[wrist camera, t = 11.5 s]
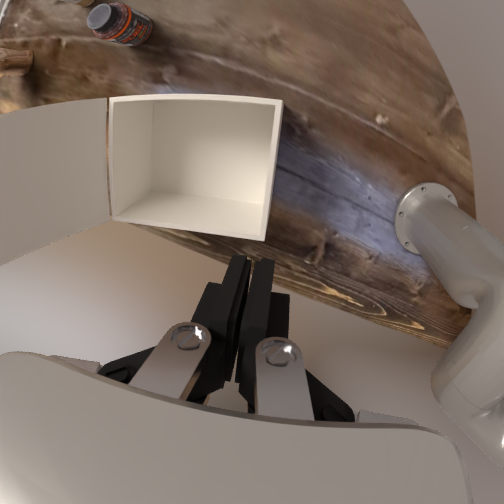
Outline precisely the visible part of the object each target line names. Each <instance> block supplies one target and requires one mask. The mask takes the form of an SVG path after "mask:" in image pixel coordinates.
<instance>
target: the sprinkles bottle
mask: <svg viewBox="0 0 504 504" xmlns="http://www.w3.org/2000/svg"><path fill="white" fill-rule="evenodd" d="M61 1H65V2H69V3H73V4H77V5H80V6H82V7H86V6H89V5H91V4H92V3H93V2H94V1H95V0H61Z"/></svg>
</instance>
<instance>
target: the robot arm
mask: <svg viewBox="0 0 504 504" xmlns="http://www.w3.org/2000/svg"><path fill="white" fill-rule="evenodd" d="M422 187H423V188H422ZM421 188H422V189H421ZM400 212H401V213H400ZM399 213H400V214H399ZM394 229H395V233H396V236H397V238H398V240H399V241H400V243H401V244H402V245H403V247H404V248H405V249H407V250H408V251H410V252H412V253H414V254H420V255H421V256H422V257H423V258H424V260H425V261H426V262H427V264H428V265H429V267H430V268H431V269H432V271H433V272H434V274H435V275H436V277H437V278H438V280H439V281H440V282H441V284H442V285H443V287H444V288H445V290H446V291H447V293H448V294H449V296H450V297H451V298H452V299H453V300H454V301H455V302H456V303H458V304H459V305H461V306H463V307H467V308H471V309H477V310H476V312H475V313H474V315H473V316H472V318H471V319H470V320H469V323H468V324H467V325H466V327H465V328H464V329H463V331H462V332H461V333H460V334H459V336H458V337H457V338H456V339H455V341H454V342H453V343H452V344H451V345H450V347H449V348H448V349H447V350H446V352H445V353H444V354H443V355H442V356H441V358H440V359H439V360H438V362H437V363H436V365H435V366H434V368H433V371H432V373H431V381H430V382H431V389H432V392H433V395H434V397H435V399H436V401H437V402H438V404H439V405H440V407H441V408H442V410H443V411H444V412H445V413H446V414H447V415H448V416H449V417H450V419H451V420H453V422H454V423H455V424H456V425H457V426H458V427H459V428H460V429H461V430H462V431H463V432H464V433H465V434H466V435H467V436H468V437H469V438H470V439H471V440H472V441H473V442H474V443H475V444H476V445H477V446H478V447H479V448H480V449H481V450H482V451H483V452H484V453H485V454H486V455H487V456H488V457H489V458H490V459H491V460H492V461H493V462H494V463H495V464H496V465H498V466H499V467H501V468H503V469H504V244H503V243H502V242H501V241H500V240H498V239H497V238H496V237H495V236H494V235H493V234H491V233H490V232H489V231H488V230H486V229H485V228H484V227H483V226H482V225H480V224H479V223H478V222H477V221H475V220H474V219H473V218H472V217H470V216H469V215H468V214H466V213H465V212H464V211H463V210H461V209H460V208H459V207H458V204H457V201H456V199H455V197H454V195H453V194H452V192H451V191H450V190H449V189H447V188H446V187H445V186H443V185H441V184H439V183H435V182H424V183H420V184H418V185H415V186H414V187H412V188H411V189H409V190H408V191H407V192H406V193H405V194H404V196H403V197H402V198H401V200H400V201H399V203H398V205H397V208H396V211H395V216H394ZM251 262H252V260H248V259H247V256H245V255H239V254H233V256H232V258H231V261H230V263H229V266H228V269H227V271H226V274H225V276H224V279H223V282H222V284H218V283H212V282H209V283H208V284H207V286H206V288H205V290H204V293H203V295H202V297H201V299H200V302H199V304H198V306H197V309H196V311H195V313H194V315H193V317H192V320H191V322H183V323H179V324H176V325H175V326H172V327H171V328H170V329H169V330H168V331H167V333H166V334H165V335H164V337H163V338H162V340H161V341H160V342H159V343H158V345H157V346H155V347H152V348H149V349H146V350H144V351H141V352H138V353H135V354H132V355H129V356H126V357H123V358H120V359H117V360H114V361H111V362H109V363H107V364H105V365H104V366H101V365H100V363H99V362H94V361H86V360H80V359H74V358H68V357H62V356H56V355H55V356H54V355H52V356H45V355H42V354H37V353H31V352H19V351H17V352H8V353H5V354H2V355H0V504H473V497H472V492H471V487H470V481H469V476H468V473H467V469H466V465H465V462H464V460H463V457H462V454H461V452H460V450H459V448H458V446H457V445H456V443H455V442H454V441H453V440H452V439H451V438H450V437H448V436H447V435H445V434H443V433H441V432H439V431H436V430H433V429H429V428H425V427H422V426H419V425H418V424H417V423H416V422H415V421H413V420H410V419H407V418H401V417H395V416H389V415H384V414H379V413H374V412H369V411H365V410H360V411H359V412H355V411H353V410H352V409H351V408H350V407H349V406H348V404H346V403H345V402H344V401H343V400H341V399H340V398H339V397H338V396H337V395H335V394H334V393H333V392H332V391H331V390H329V389H328V388H327V387H326V386H325V385H323V384H322V383H321V382H320V381H319V380H318V379H316V378H315V377H314V376H313V375H312V374H311V373H310V372H308V371H307V370H306V369H305V367H304V362H303V357H302V353H301V350H300V348H299V347H298V346H297V345H296V344H295V343H294V342H292V341H291V340H289V339H288V330H289V303H290V295H289V294H282V293H276V292H271V290H272V282H273V273H274V265H275V260H272V259H265V258H262V259H261V261H256V262H255V266H254V270H253V275H252V279H251V283H250V288H249V279H250V271H251ZM248 288H249V292H248ZM238 346H239V347H238ZM237 351H238V356H237V367H236V375H235V382H236V383H240V384H239V393H240V394H241V395H242V396H243V397H244V398H245V400H246V401H247V404H246V413H243V412H237V411H232V410H226V409H221V408H215V407H211V406H207V404H208V402H209V400H210V397H211V393H212V392H214V391H216V390H218V389H220V388H222V389H223V387H224V383H225V381H229V382H230V380H231V377H232V372H233V368H234V364H235V358H236V355H237Z"/></svg>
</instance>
